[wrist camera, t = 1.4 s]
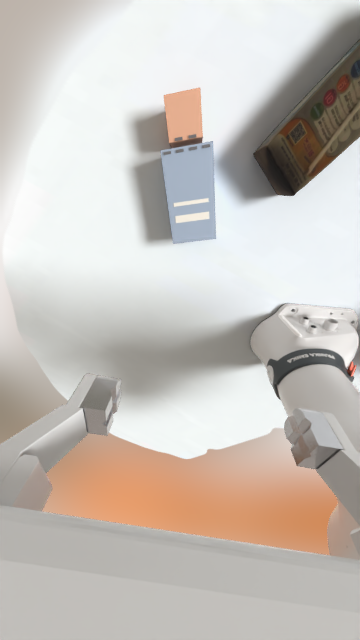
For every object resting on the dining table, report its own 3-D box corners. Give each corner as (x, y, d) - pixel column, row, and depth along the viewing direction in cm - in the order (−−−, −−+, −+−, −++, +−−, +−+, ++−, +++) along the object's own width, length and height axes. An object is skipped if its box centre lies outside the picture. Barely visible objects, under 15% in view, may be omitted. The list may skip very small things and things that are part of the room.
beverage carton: (414, 73, 25) (476, 38, 20) (277, 199, 33) (294, 199, 28) (392, 1, 23) (456, -63, 17) (249, 156, 31) (260, 147, 25)
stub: (199, 103, 28) (200, 86, 23) (201, 145, 30) (202, 136, 26) (168, 110, 28) (163, 94, 24) (172, 150, 30) (169, 142, 26)
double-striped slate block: (210, 148, 30) (213, 140, 26) (213, 233, 36) (216, 238, 32) (165, 156, 31) (160, 150, 27) (175, 238, 37) (173, 244, 33)
